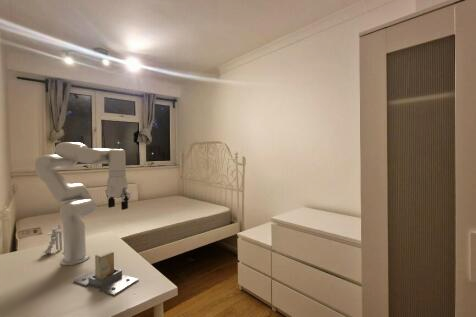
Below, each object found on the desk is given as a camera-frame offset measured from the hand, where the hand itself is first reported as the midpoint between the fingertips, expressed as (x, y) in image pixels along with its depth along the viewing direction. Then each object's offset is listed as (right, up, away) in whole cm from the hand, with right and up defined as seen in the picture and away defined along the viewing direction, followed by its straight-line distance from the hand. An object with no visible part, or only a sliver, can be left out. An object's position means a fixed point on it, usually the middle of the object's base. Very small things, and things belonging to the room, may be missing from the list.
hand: (118, 208), depth 115 cm
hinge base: (+1, -30, -13) cm, 32 cm away
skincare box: (+1, -30, -13) cm, 32 cm away
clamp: (-48, -30, +19) cm, 59 cm away
